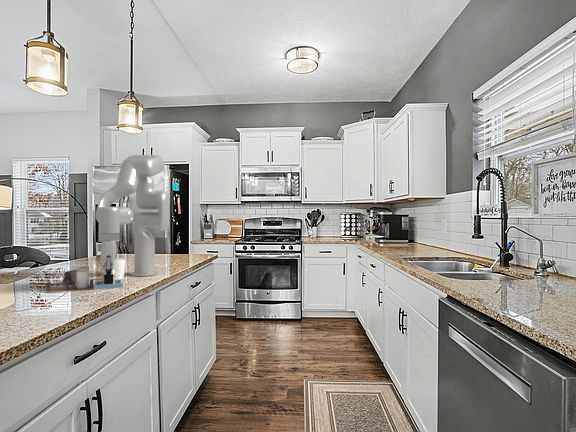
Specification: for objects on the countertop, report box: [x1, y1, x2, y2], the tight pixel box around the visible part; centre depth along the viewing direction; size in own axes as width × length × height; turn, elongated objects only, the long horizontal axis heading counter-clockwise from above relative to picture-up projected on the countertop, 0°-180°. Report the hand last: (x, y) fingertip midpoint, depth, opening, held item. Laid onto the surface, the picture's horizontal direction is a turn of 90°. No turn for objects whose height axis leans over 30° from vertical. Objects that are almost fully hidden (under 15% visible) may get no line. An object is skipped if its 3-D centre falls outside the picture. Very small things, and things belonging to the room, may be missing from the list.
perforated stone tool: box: [62, 269, 77, 286], centre depth 145 cm, size 15×5×7 cm, turn 5°
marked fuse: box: [102, 265, 115, 285], centre depth 137 cm, size 4×4×8 cm
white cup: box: [115, 257, 126, 280], centre depth 154 cm, size 8×8×10 cm
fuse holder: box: [44, 278, 94, 294], centre depth 131 cm, size 10×15×4 cm, turn 116°
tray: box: [92, 278, 124, 291], centre depth 136 cm, size 10×10×3 cm
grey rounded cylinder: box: [75, 266, 90, 289], centre depth 133 cm, size 4×4×8 cm
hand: (108, 283), depth 136 cm, fingers closed on marked fuse, 4 cm apart
